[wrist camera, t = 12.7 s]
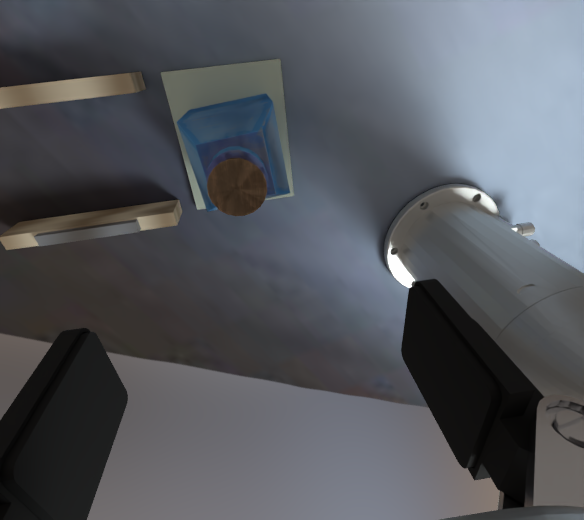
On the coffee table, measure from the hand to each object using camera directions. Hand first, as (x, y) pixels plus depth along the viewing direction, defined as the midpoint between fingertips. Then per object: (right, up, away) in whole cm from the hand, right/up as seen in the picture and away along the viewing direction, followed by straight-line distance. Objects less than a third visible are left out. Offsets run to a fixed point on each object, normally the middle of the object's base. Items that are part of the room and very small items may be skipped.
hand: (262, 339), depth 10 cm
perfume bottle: (-4, +13, +18) cm, 22 cm away
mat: (-4, +13, +18) cm, 22 cm away
